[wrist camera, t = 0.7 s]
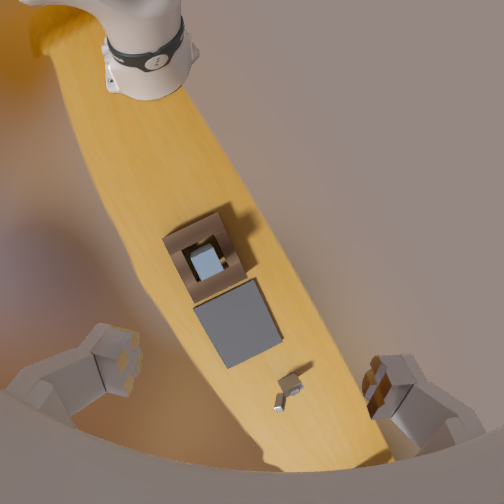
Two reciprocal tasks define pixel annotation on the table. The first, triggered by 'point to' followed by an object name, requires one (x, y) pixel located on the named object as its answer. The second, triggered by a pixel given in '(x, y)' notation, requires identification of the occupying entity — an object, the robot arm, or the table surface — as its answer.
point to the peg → (206, 261)
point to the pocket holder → (194, 286)
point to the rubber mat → (238, 324)
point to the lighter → (287, 390)
